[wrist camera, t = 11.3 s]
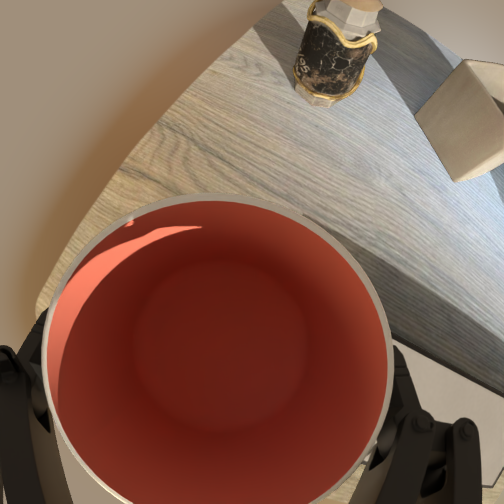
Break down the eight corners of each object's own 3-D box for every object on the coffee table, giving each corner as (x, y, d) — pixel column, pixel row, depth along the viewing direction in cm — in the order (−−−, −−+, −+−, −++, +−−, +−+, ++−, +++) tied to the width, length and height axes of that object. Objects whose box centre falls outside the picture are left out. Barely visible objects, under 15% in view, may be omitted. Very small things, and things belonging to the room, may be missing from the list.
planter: (408, 154, 36) (497, 66, 17) (414, 114, 38) (486, 29, 19) (490, 208, 36) (584, 159, 17) (491, 167, 38) (571, 112, 19)
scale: (279, 428, 28) (284, 439, 25) (343, 310, 31) (355, 310, 28) (483, 484, 27) (495, 489, 24) (522, 407, 30) (535, 409, 27)
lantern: (275, 80, 36) (314, -90, 12) (315, 59, 38) (367, -85, 14) (322, 123, 36) (406, -48, 11) (360, 98, 37) (443, -44, 13)
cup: (195, 455, 15) (172, 564, 6) (104, 314, 17) (-6, 305, 7) (338, 369, 17) (442, 410, 7) (248, 227, 18) (271, 132, 9)
